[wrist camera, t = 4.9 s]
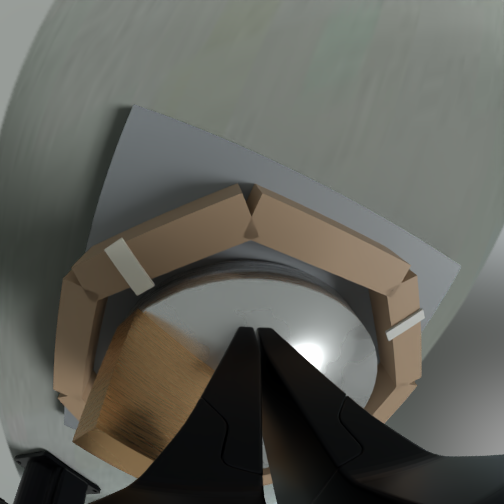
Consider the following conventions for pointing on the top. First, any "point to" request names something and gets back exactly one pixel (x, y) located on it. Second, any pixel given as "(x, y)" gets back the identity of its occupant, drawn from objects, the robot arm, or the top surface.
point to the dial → (211, 352)
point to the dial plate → (238, 250)
